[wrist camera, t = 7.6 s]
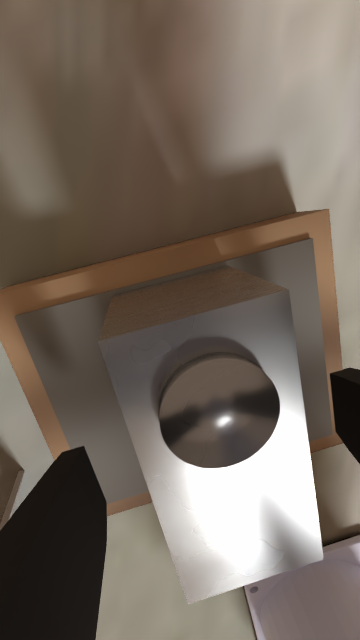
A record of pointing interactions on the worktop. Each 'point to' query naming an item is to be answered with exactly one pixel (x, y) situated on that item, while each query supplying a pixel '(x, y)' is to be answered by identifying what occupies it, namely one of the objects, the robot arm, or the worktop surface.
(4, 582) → the robot arm
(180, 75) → the worktop surface
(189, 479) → the housing
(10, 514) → the bracket
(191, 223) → the worktop surface
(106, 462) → the stand
